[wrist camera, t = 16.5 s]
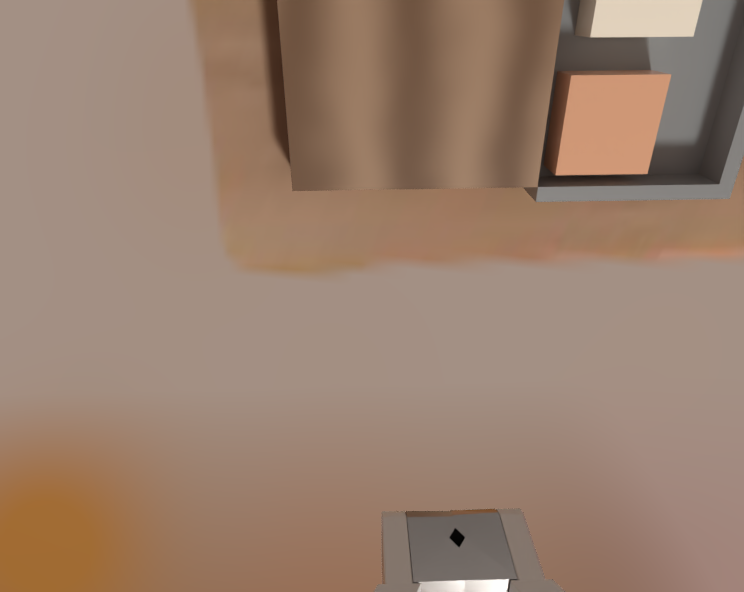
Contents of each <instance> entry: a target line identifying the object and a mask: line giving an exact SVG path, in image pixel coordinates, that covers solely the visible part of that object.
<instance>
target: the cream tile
mask: <svg viewBox="0 0 744 592" xmlns="http://www.w3.org/2000/svg"><path fill="white" fill-rule="evenodd" d="M702 1H703V0H580V4H579V11H578V17H577V24H576V30H575V35H576V36H583V37H693V36H694V32H695V28H696V24H697V20H698V17H699V13H700V9H701V5H702Z"/></svg>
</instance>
